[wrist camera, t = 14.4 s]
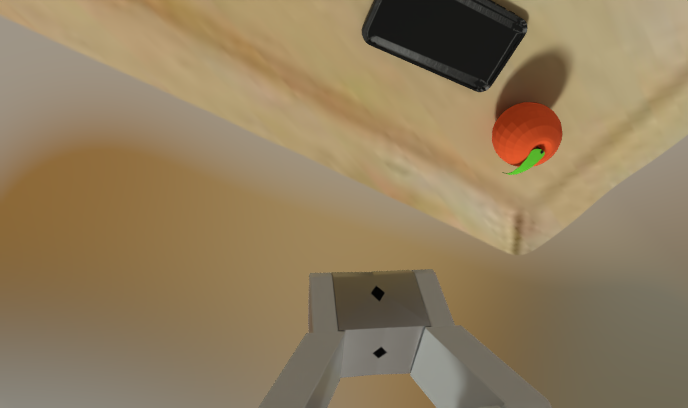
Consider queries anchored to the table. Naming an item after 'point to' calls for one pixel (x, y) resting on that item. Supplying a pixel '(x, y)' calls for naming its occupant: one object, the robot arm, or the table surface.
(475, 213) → the table surface
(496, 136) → the clementine
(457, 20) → the phone
